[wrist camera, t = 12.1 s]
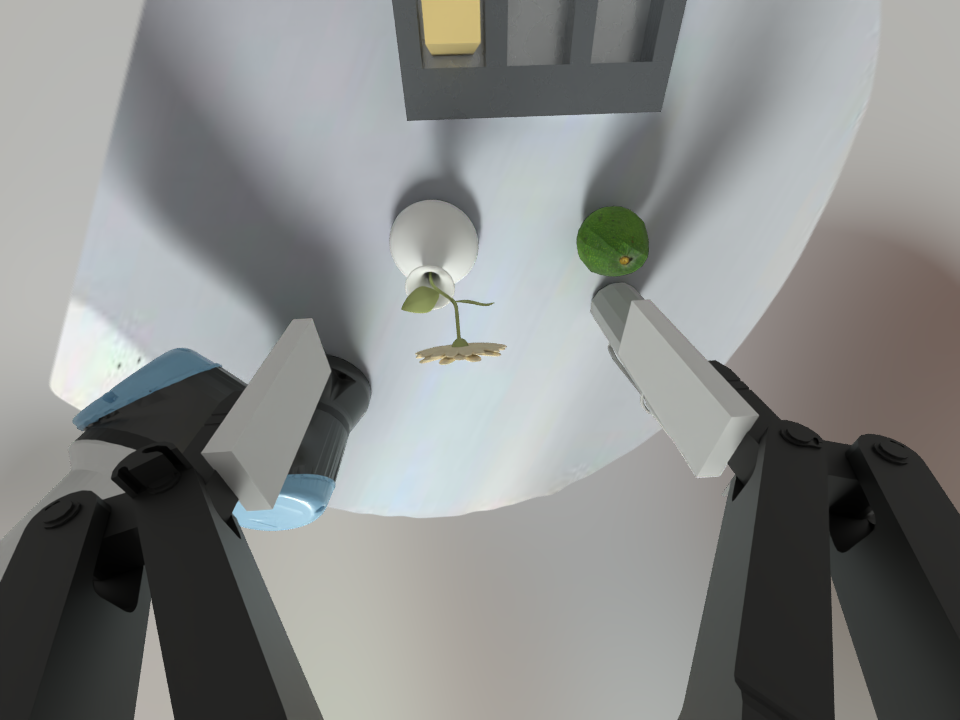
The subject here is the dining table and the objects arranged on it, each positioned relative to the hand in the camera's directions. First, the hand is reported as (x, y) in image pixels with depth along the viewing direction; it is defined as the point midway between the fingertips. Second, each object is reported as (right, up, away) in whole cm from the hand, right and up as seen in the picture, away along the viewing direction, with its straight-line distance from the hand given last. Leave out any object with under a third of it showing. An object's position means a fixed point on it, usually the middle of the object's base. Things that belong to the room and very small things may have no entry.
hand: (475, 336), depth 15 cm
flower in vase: (-5, +15, +32) cm, 36 cm away
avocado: (+16, +17, +33) cm, 40 cm away
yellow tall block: (-3, +31, +19) cm, 36 cm away
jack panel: (+5, +32, +20) cm, 38 cm away
